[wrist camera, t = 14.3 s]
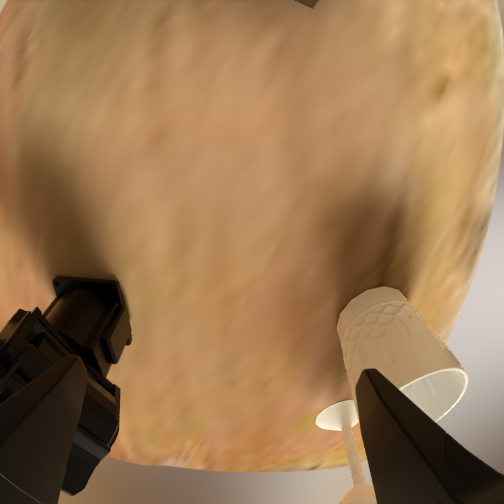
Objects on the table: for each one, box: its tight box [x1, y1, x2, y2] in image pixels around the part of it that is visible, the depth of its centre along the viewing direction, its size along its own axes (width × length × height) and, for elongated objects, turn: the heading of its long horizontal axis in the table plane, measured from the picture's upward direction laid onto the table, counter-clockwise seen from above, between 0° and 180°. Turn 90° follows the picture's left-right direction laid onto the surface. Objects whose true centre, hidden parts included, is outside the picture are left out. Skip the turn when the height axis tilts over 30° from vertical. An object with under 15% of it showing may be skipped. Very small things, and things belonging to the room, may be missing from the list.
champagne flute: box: [315, 400, 377, 504], centre depth 20 cm, size 7×7×24 cm
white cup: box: [336, 286, 468, 431], centre depth 20 cm, size 8×8×10 cm
